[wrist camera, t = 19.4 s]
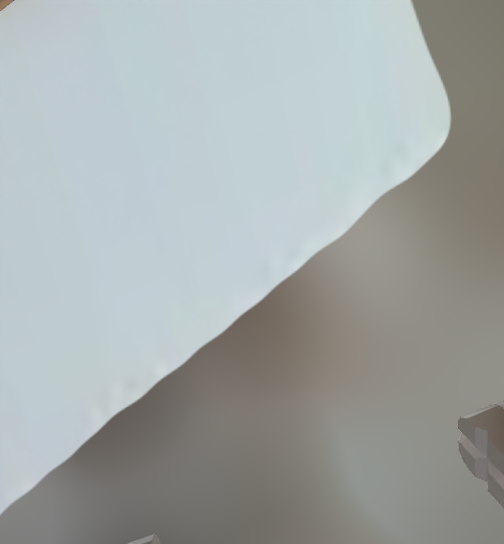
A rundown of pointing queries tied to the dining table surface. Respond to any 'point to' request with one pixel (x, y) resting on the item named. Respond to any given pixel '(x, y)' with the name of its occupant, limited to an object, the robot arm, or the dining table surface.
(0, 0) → the box
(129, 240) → the dining table surface
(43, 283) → the dining table surface
